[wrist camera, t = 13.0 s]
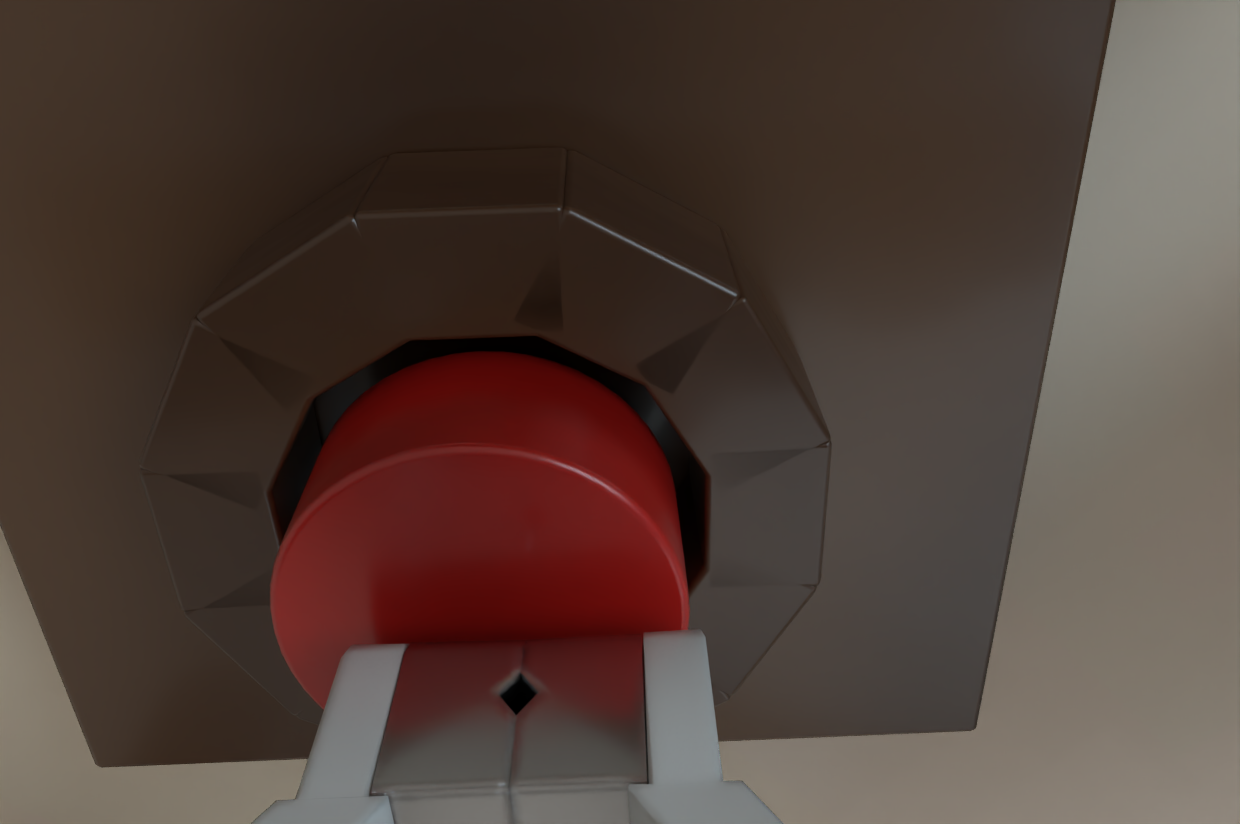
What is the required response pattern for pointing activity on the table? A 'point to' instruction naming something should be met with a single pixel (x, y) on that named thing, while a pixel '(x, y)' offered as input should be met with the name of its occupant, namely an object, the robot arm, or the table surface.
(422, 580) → the button
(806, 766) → the table surface
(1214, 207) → the table surface
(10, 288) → the button block
